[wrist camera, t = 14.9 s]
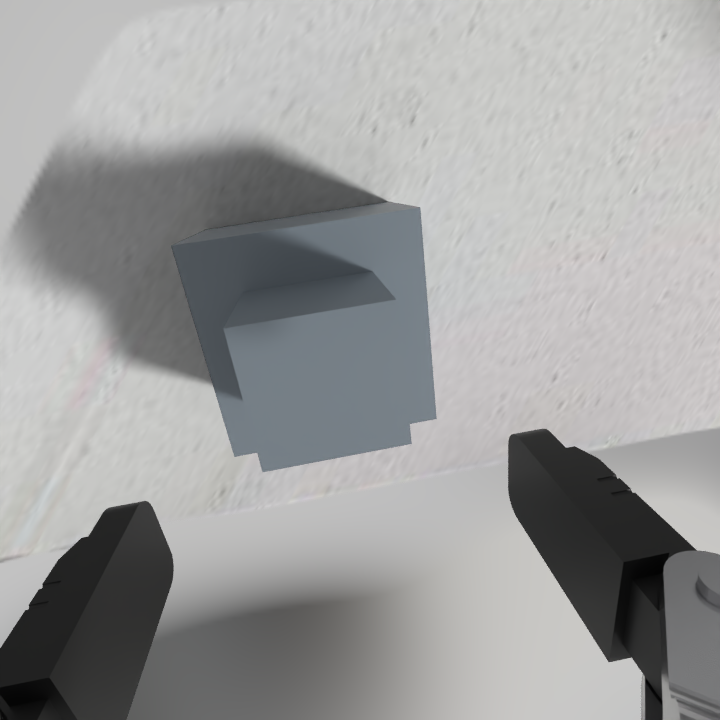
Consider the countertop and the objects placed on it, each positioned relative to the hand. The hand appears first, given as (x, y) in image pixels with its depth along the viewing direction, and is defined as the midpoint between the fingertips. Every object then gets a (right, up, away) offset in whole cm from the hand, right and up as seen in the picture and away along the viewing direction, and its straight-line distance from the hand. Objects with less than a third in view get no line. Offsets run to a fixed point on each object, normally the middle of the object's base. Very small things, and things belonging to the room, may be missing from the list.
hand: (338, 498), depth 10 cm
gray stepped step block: (-2, +6, +16) cm, 18 cm away
